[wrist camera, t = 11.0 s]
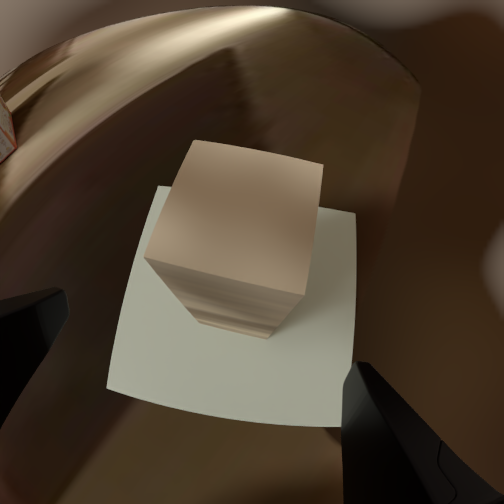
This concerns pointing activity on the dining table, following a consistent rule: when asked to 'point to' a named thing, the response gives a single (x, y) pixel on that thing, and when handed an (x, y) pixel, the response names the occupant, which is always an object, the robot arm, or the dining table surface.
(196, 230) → the birch block
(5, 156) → the cracker box
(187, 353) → the sage mat
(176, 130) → the dining table surface
